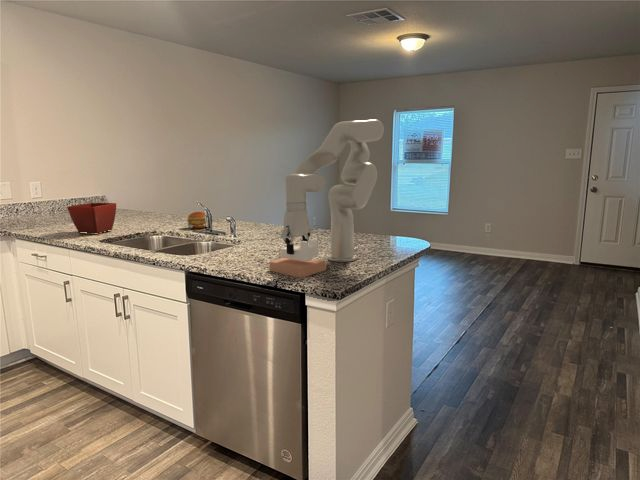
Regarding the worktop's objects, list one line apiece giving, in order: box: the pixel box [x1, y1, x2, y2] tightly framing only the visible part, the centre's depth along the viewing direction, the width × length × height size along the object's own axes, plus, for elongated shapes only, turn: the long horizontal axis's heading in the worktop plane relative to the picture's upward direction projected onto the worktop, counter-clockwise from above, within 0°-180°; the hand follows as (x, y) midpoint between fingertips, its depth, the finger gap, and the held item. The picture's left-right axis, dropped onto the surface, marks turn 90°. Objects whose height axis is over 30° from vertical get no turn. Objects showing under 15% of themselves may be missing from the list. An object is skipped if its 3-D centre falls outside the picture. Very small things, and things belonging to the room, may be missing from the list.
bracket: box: [280, 238, 319, 262], centre depth 171 cm, size 13×7×8 cm, turn 52°
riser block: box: [268, 257, 327, 278], centre depth 173 cm, size 14×17×4 cm
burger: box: [187, 211, 206, 230], centre depth 276 cm, size 13×14×10 cm
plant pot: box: [66, 202, 117, 233], centre depth 263 cm, size 19×19×17 cm
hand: (297, 251), depth 172 cm, fingers open, 7 cm apart
